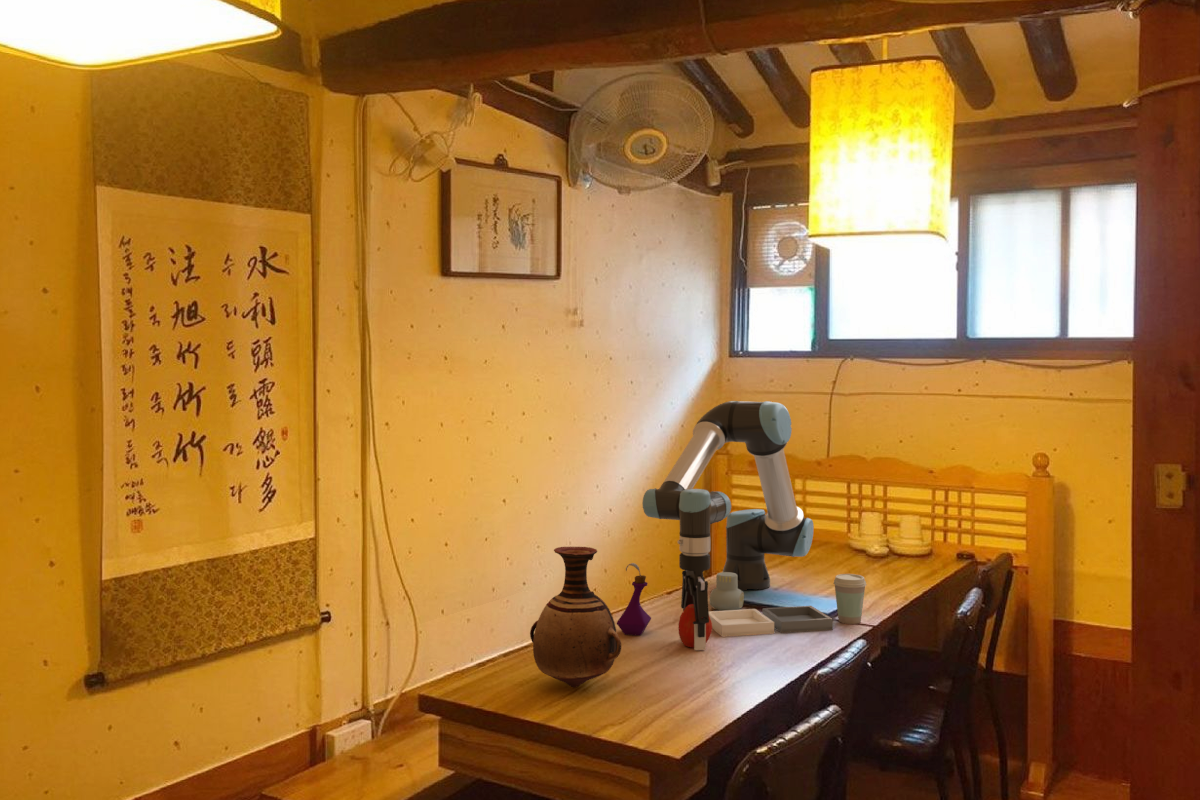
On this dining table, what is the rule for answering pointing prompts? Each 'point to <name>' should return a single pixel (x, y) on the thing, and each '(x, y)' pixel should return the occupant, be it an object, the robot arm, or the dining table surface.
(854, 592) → the coffee cup
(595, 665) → the vase
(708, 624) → the apple
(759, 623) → the beige square dish
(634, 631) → the perfume bottle
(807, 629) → the grey square tray
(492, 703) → the dining table surface
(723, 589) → the air freshener
